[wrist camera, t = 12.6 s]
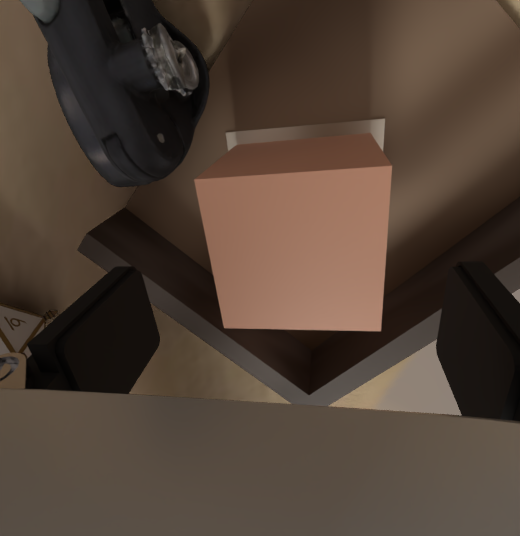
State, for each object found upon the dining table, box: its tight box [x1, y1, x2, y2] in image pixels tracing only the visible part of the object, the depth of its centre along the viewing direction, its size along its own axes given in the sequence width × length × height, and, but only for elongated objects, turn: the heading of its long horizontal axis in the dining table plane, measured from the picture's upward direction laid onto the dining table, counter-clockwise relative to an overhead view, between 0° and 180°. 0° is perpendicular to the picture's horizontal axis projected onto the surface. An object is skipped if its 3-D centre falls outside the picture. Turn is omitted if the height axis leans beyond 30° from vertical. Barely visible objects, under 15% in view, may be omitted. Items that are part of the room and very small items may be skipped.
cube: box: [194, 133, 392, 331], centre depth 15 cm, size 6×6×6 cm
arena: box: [78, 0, 520, 406], centre depth 16 cm, size 15×18×4 cm
